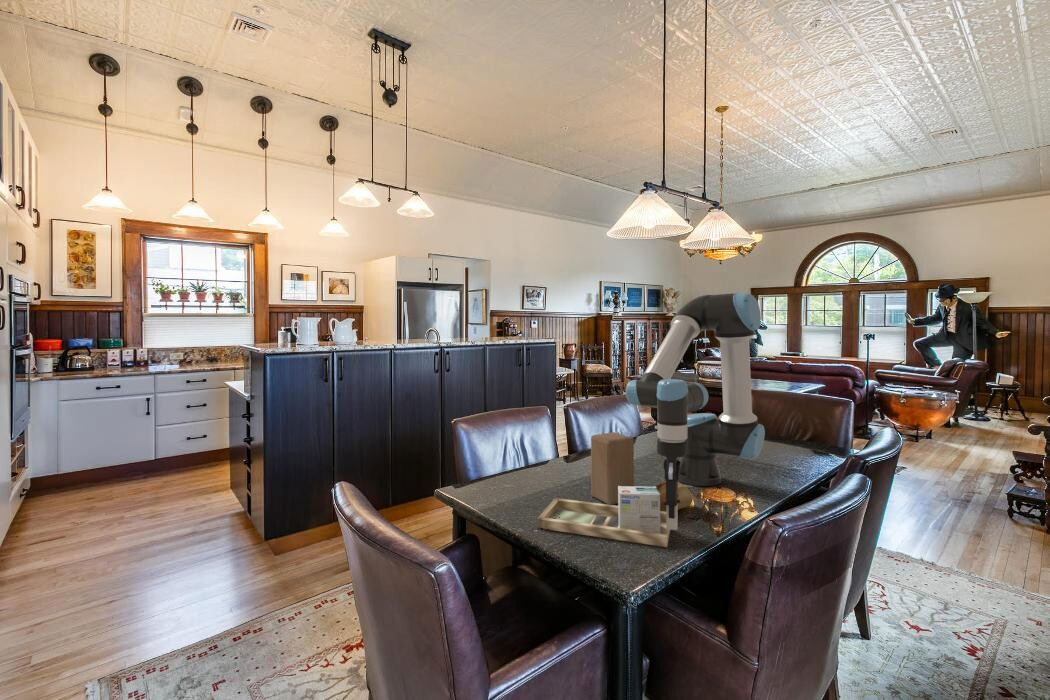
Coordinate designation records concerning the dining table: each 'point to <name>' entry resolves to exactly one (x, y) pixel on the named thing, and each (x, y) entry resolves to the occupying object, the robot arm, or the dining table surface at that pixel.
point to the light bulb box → (639, 508)
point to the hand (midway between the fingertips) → (671, 528)
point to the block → (611, 465)
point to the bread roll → (683, 496)
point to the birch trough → (597, 522)
